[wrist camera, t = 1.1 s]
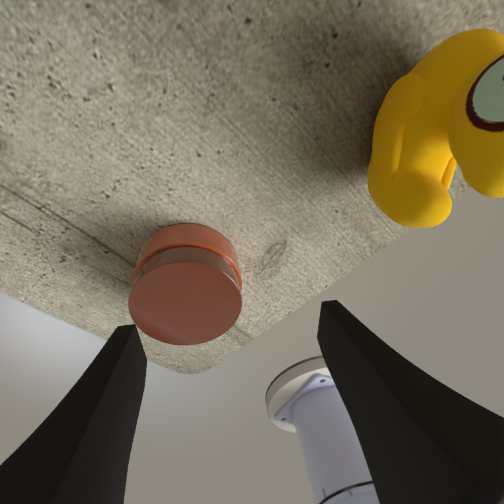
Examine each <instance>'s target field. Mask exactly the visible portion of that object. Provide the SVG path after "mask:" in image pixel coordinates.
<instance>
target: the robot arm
mask: <svg viewBox="0 0 504 504" xmlns="http://www.w3.org/2000/svg"><path fill="white" fill-rule="evenodd" d="M317 339H318V342H319V345H320V349H321V352H322V355H323V358H324V361H325V363H326V366H327V368H328V370H329V372H330V375H331V377H330V376H326V375H323V374H315V375H314V376H313V377H312V378H311V379H310V380H309V381H308V382H307V383H306V384H305V385H304V386H303V387H302V388H301V389H300V390H299V391H298V392H297V393H296V394H295V395H294V396H293V397H292V398H291V399H290V400H289V401H288V402H287V403H286V404H285V405H284V406H283V407H282V408H281V409H280V410H279V411H278V412H277V413H276V414H275V420H276V421H280V422H286V423H291V424H294V426H295V429H296V433H297V437H298V441H299V445H300V449H301V452H302V457H303V460H304V464H305V468H306V472H307V476H308V480H309V484H310V487H311V491H312V494H313V499H314V503H315V504H504V418H503V417H501V416H499V415H497V414H495V413H494V412H491V411H490V410H488V409H486V408H484V407H482V406H480V405H478V404H477V403H475V402H473V401H471V400H469V399H468V398H466V397H464V396H462V395H461V394H459V393H457V392H456V391H454V390H452V389H451V388H449V387H447V386H446V385H444V384H442V383H441V382H439V381H438V380H436V379H435V378H433V377H431V376H430V375H428V374H427V373H426V372H424V371H423V370H421V369H420V368H418V367H417V366H415V365H413V364H412V363H411V362H410V361H408V360H407V359H405V358H404V357H403V356H401V355H400V354H399V353H398V352H396V351H395V350H394V349H392V348H391V347H390V346H389V345H387V344H386V343H385V342H384V341H382V340H381V339H380V338H379V337H378V336H376V335H375V334H374V333H373V332H372V331H371V330H369V329H368V328H367V327H366V326H365V325H364V324H363V323H361V322H360V321H359V320H358V319H357V318H356V317H355V316H354V315H353V314H351V313H350V312H349V311H348V310H347V309H346V308H345V307H344V306H343V305H342V304H341V303H339V302H338V301H337V300H332V301H324V302H322V304H321V312H320V319H319V326H318V334H317ZM146 367H147V358H146V355H145V352H144V349H143V346H142V343H141V340H140V337H139V334H138V331H137V328H136V325H135V324H133V325H124V326H118V327H117V328H116V329H115V331H114V332H113V334H112V335H111V336H110V338H109V339H108V341H107V342H106V344H105V345H104V346H103V348H102V349H101V351H100V352H99V353H98V355H97V356H96V357H95V359H94V360H93V362H92V363H91V364H90V366H89V367H88V368H87V369H86V371H85V372H84V373H83V375H82V376H81V378H80V379H79V380H78V381H77V383H76V384H75V385H74V386H73V387H72V389H71V390H70V391H69V392H68V394H67V395H66V396H65V397H64V398H63V400H62V401H61V402H60V403H59V404H58V406H57V407H56V408H55V409H54V410H53V411H52V412H51V414H50V415H49V416H48V417H47V418H46V419H45V420H44V421H43V423H42V424H41V425H40V426H39V427H38V428H37V429H36V430H35V431H34V432H33V433H32V434H31V435H30V436H29V437H28V439H27V440H25V441H24V443H22V445H21V446H20V447H19V448H18V449H17V450H16V451H15V452H14V453H13V454H12V455H11V456H9V458H8V459H6V460H5V461H4V462H3V463H2V465H0V504H123V503H124V494H125V486H126V478H127V470H128V463H129V458H130V452H131V448H132V443H133V438H134V433H135V429H136V425H137V419H138V415H139V411H140V406H141V401H142V397H143V392H144V387H145V378H146Z"/></svg>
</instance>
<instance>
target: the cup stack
mask: <svg viewBox="0 0 504 504" xmlns="http://www.w3.org/2000/svg"><path fill="white" fill-rule="evenodd" d="M241 289H242V280H241V274H240V269H239V263H238V258H237V254H236V252H235V249H234V248H233V246H232V244H231V243H230V242H229V241H228V239H227V238H225V237H224V236H223V235H222V234H220V233H219V232H218V231H216V230H214V229H212V228H209V227H207V226H203V225H199V224H192V223H183V224H176V225H171V226H168V227H166V228H163V229H161V230H159V231H157V232H156V233H154V234H153V235H152V236H151V237H150V238H149V239H148V240H147V241H146V242H145V243H144V245H143V246H142V248H141V250H140V253H139V256H138V259H137V262H136V265H135V268H134V271H133V274H132V278H131V291H130V295H129V300H128V307H129V312H130V315H131V317H132V319H133V321H134V323H135V324H136V325H137V326H138V328H139V329H141V330H142V331H143V332H144V333H145V334H147V335H148V336H150V337H152V338H154V339H156V340H158V341H161V342H164V343H168V344H174V345H195V344H200V343H205V342H208V341H211V340H213V339H215V338H217V337H219V336H221V335H222V334H224V333H225V332H227V331H228V330H229V329H230V328H231V327H232V326H233V325H234V323H235V322H236V320H237V319H238V317H239V314H240V312H241V308H242V296H241Z"/></svg>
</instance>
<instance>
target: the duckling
mask: <svg viewBox="0 0 504 504" xmlns="http://www.w3.org/2000/svg"><path fill="white" fill-rule="evenodd" d="M457 163H458V164H459V166H460V168H461V171H462V174H463V177H464V179H465V181H466V182H467V183H468V184H469V185H470V186H471V187H472V188H473V189H475V190H476V191H478V192H479V193H481V194H483V195H485V196H488V197H495V198H499V197H504V35H503V34H501V33H499V32H497V31H494V30H489V29H474V30H469V31H465V32H461V33H459V34H456V35H454V36H452V37H450V38H448V39H446V40H445V41H443V42H442V43H440V44H439V45H438V46H436V47H435V48H434V49H433V50H432V51H431V52H429V53H428V54H427V55H426V56H425V57H424V58H423V59H422V60H421V61H420V62H419V63H418V64H417V65H416V66H415V67H414V68H413V69H412V70H411V71H410V72H409V73H408V74H407V75H405V76H403V77H401V78H400V79H399V80H397V81H396V82H395V83H394V84H393V85H392V87H391V88H390V89H389V91H388V93H387V94H386V96H385V99H384V101H383V103H382V105H381V108H380V110H379V112H378V115H377V117H376V121H375V126H374V132H373V141H372V156H371V160H370V164H369V170H368V189H369V193H370V195H371V197H372V199H373V200H374V202H375V203H376V205H377V206H378V207H379V208H380V209H381V210H382V211H383V212H384V213H385V214H386V215H387V216H388V217H389V218H390V219H392V220H393V221H395V222H396V223H399V224H401V225H403V226H408V227H414V228H425V227H432V226H436V225H438V224H440V223H442V222H443V221H444V220H445V219H446V218H447V217H448V215H449V214H450V212H451V208H452V201H451V198H450V196H449V194H448V192H447V190H448V189H449V186H450V184H451V180H452V177H453V174H454V171H455V168H456V165H457Z"/></svg>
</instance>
